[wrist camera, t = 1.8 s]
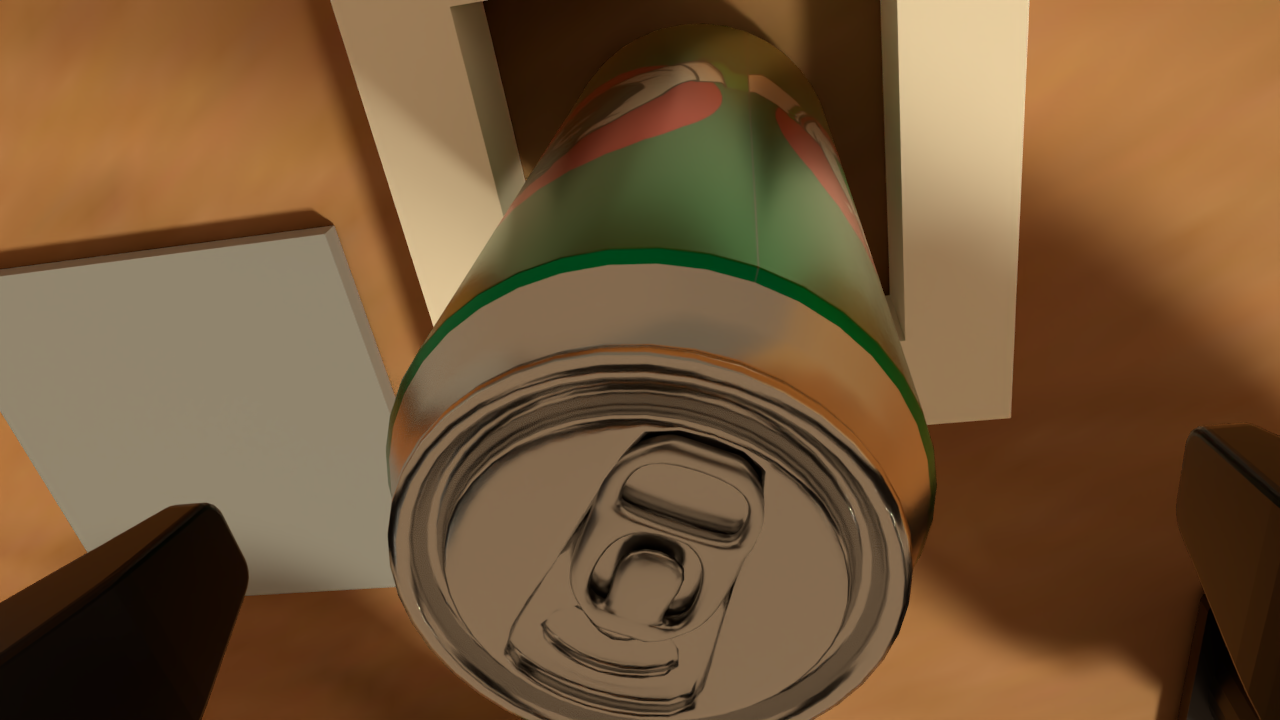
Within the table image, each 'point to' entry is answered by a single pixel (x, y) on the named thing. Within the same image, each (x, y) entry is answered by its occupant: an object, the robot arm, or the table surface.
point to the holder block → (914, 155)
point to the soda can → (666, 414)
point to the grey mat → (209, 399)
